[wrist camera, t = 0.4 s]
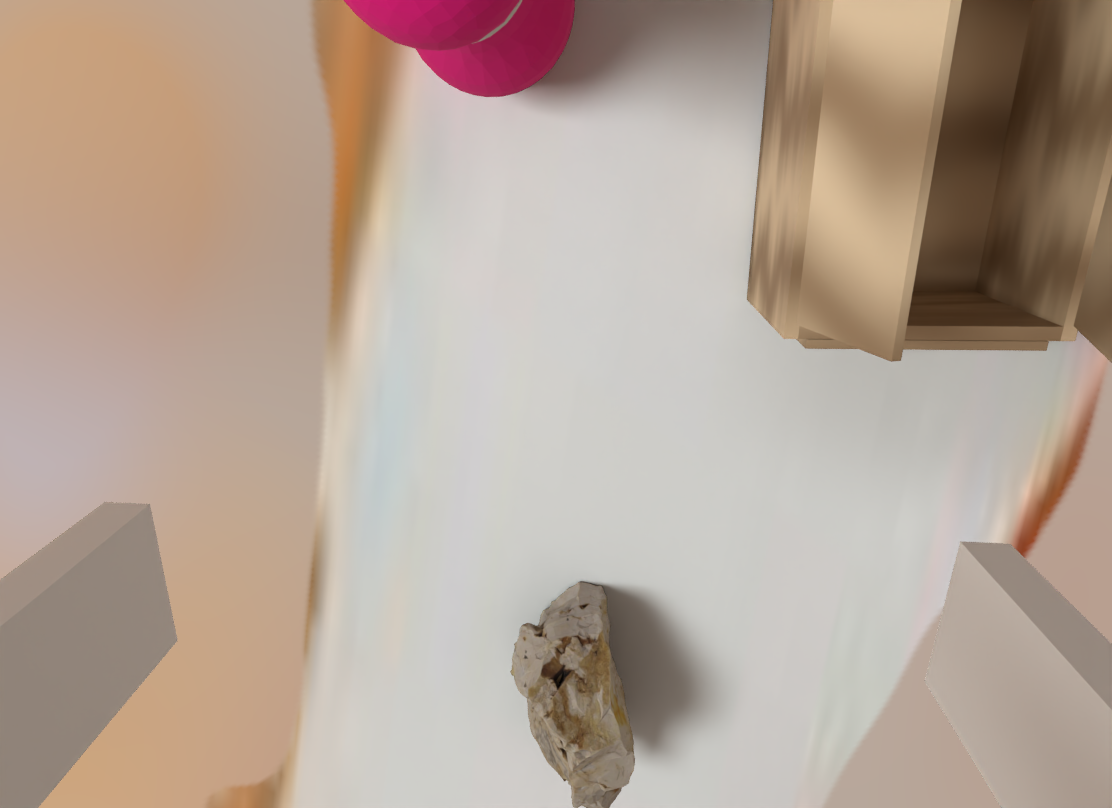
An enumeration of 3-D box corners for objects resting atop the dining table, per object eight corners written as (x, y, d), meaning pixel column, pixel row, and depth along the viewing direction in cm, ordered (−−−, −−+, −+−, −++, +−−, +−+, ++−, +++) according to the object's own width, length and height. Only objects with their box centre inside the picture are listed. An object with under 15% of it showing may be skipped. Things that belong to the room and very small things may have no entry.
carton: (783, -116, 31) (841, -196, 24) (1064, -123, 31) (1215, -208, 23) (745, 307, 38) (782, 348, 31) (977, 309, 37) (1072, 351, 30)
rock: (496, 584, 44) (509, 744, 36) (601, 565, 44) (637, 720, 36) (525, 689, 51) (540, 841, 43) (614, 672, 51) (646, 820, 43)
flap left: (861, -155, 24) (851, -156, 24) (1001, -233, 19) (989, -235, 19) (804, 323, 29) (796, 324, 29) (901, 360, 25) (891, 361, 24)
